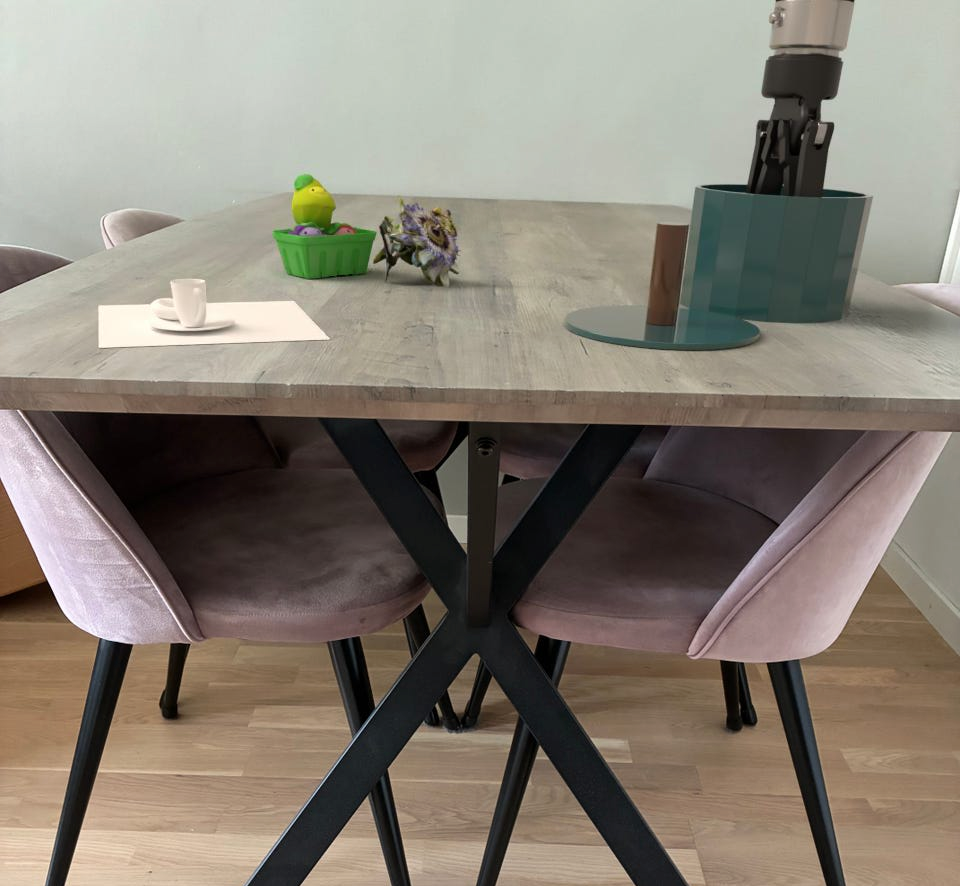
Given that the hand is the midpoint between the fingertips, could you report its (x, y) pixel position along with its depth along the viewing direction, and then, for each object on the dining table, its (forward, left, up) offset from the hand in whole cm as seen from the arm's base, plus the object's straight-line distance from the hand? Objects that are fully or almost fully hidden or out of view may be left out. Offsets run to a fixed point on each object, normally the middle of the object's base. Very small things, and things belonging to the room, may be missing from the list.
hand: (765, 293), depth 107 cm
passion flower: (+38, -16, -2) cm, 41 cm away
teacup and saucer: (+60, +8, -2) cm, 61 cm away
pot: (0, 0, -2) cm, 2 cm away
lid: (+16, +13, -1) cm, 21 cm away
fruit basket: (+49, -24, -2) cm, 55 cm away
